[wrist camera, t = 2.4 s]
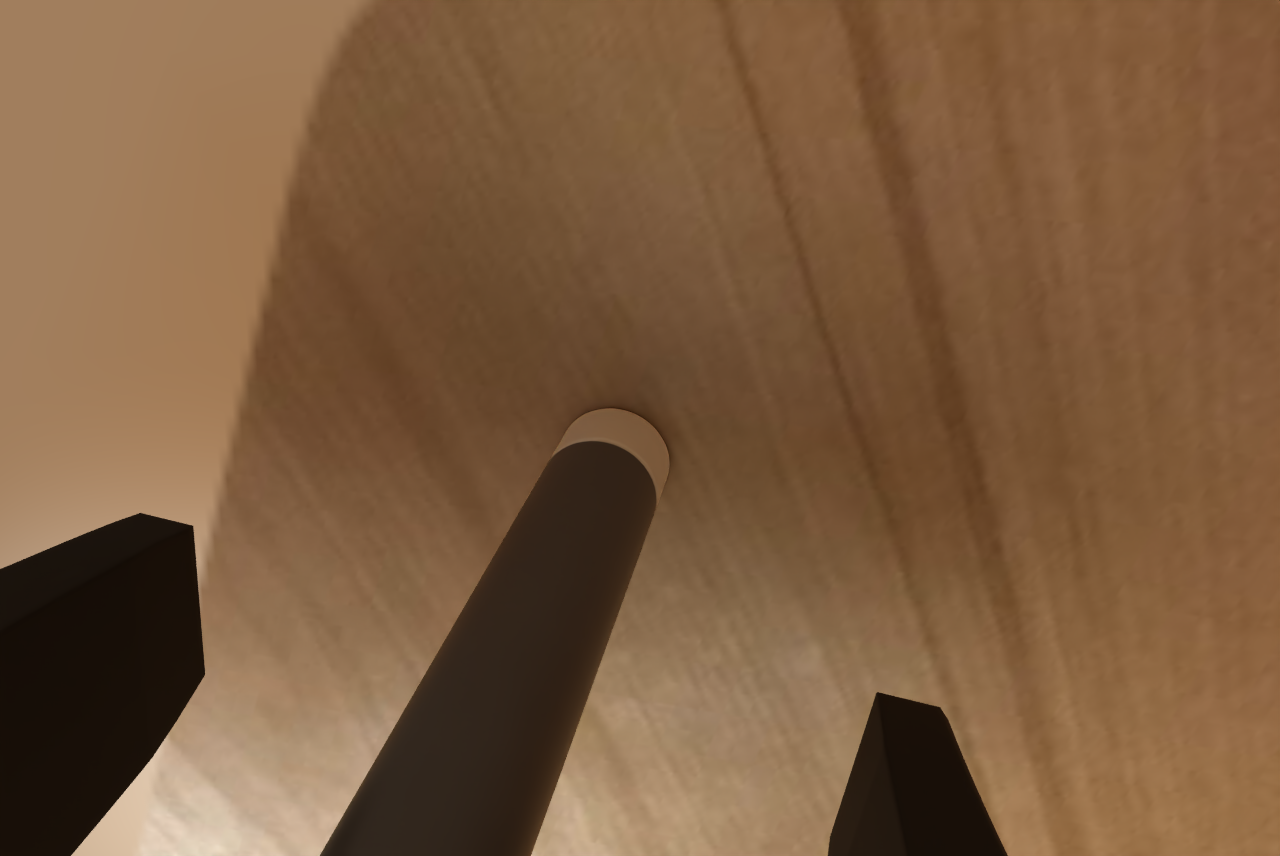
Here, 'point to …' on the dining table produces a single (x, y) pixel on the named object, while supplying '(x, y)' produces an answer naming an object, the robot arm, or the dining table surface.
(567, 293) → the dining table surface
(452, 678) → the dark brown rod
